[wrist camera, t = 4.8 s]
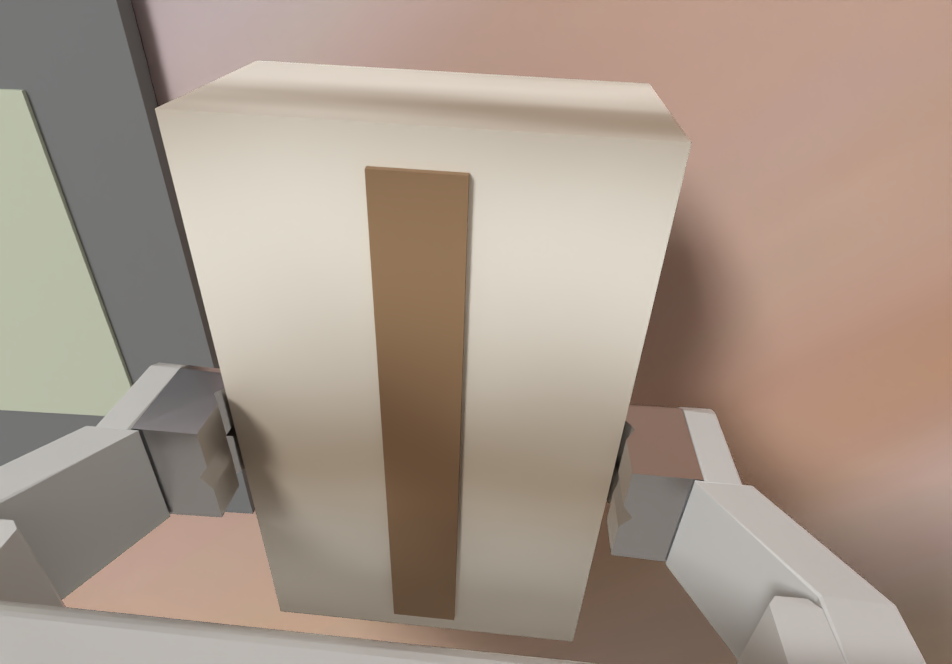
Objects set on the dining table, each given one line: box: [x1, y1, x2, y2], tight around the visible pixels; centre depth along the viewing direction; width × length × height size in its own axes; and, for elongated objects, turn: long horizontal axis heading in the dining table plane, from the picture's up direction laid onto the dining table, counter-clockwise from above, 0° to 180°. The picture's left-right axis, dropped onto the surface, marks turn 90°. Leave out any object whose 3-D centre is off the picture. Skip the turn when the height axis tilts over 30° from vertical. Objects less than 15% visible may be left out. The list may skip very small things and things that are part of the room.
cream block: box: [155, 61, 692, 642], centre depth 11 cm, size 10×6×3 cm, turn 178°
